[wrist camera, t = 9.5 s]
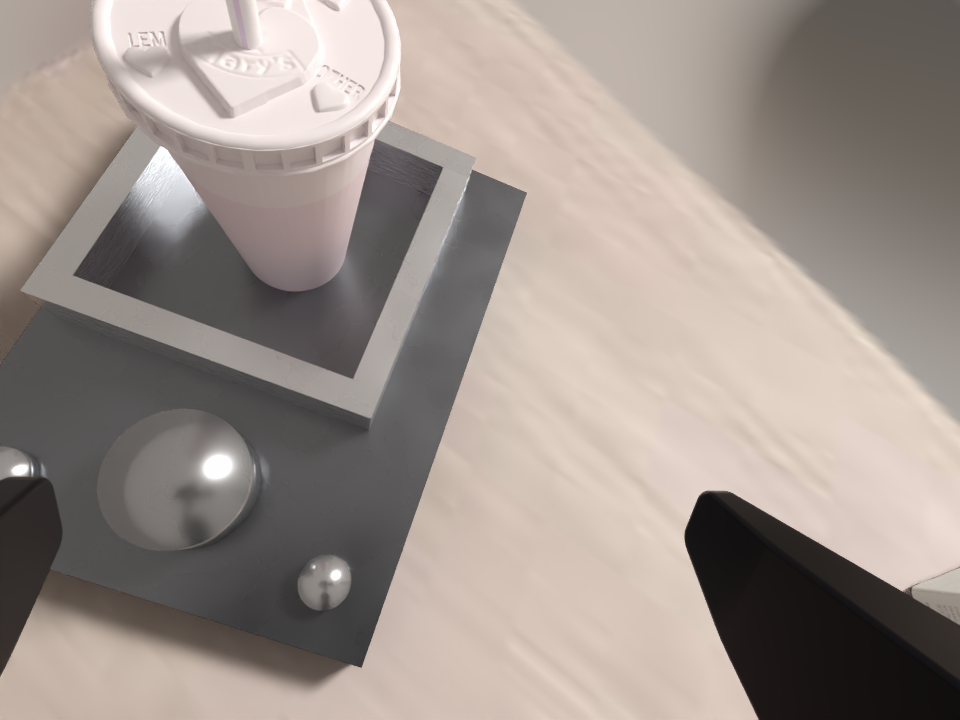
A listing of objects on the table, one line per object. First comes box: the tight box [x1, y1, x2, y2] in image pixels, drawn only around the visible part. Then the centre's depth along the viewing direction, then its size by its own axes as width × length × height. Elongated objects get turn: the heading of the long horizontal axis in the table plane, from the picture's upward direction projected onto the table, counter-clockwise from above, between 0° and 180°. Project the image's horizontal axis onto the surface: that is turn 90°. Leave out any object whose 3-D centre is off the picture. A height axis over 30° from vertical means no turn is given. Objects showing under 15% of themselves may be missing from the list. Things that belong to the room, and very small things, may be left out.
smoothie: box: [90, 0, 401, 292], centre depth 14 cm, size 6×6×14 cm
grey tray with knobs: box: [0, 121, 527, 668], centre depth 20 cm, size 19×14×4 cm
